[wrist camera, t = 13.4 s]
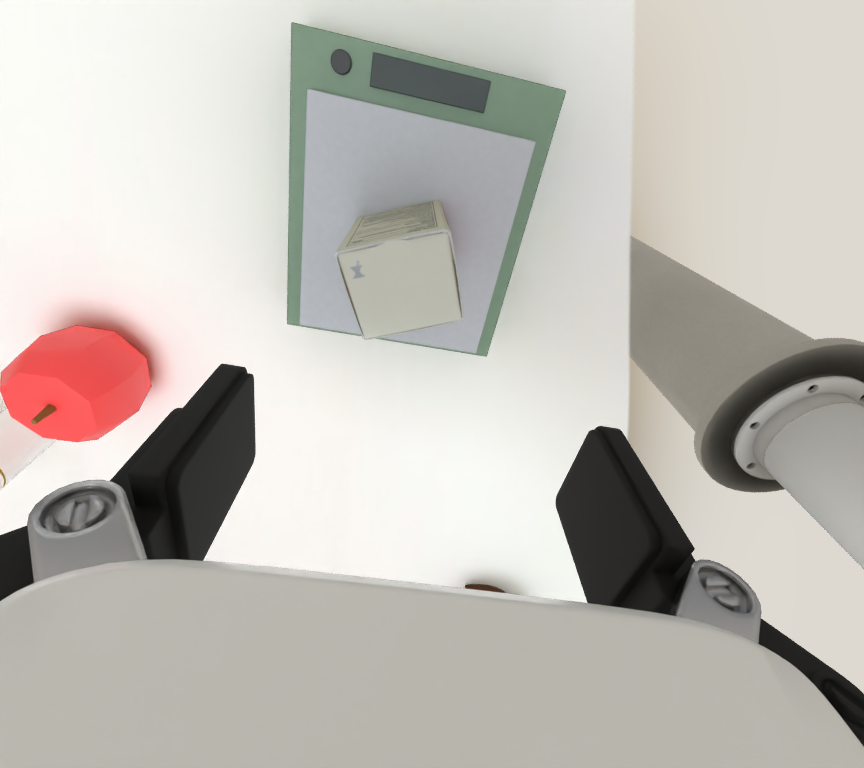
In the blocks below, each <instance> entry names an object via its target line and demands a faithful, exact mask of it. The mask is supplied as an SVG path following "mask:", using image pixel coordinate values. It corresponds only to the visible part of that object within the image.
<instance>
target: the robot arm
mask: <svg viewBox="0 0 864 768" xmlns="http://www.w3.org/2000/svg"><path fill="white" fill-rule="evenodd" d="M731 451H732V455H733V457H734V459H735V461H736V462H737V463H738V465H739V466H740V467H741V468H742V469H743V470H744V471H745V472H747V473H749V474H750V475H752V476H755V477H758V478H761V479H769V480H777V481H778V482H779V483H780V484H781V485H782V486H783V487H784V488H785V489H786V490H787V491H788V492H789V493H790V494H791V495H792V497H793V498H795V500H796V501H797V502H798V503H799V504H800V505H801V506H802V507H803V508H804V509H805V510H806V511H807V512H808V513H809V514H810V515H811V516H812V517H813V518H814V519H815V520H816V521H817V522H818V523H819V524H820V525H821V526H822V527H823V528H824V529H825V530H826V531H827V532H828V533H829V534H830V535H831V536H832V537H833V538H834V539H835V540H836V542H838V543H839V545H841V547H842V548H843V549H844V550H845V551H846V552H847V553H848V554H849V555H850V556H851V557H852V558H853V559H854V560H855V561H856V562H857V563H858V564H859V565H860V566H861V567H862V568H863V569H864V383H862V382H861V381H859V380H858V379H855V378H853V377H851V376H849V375H843V374H838V373H824V374H818V375H811V376H807V377H804V378H801V379H798V380H794V381H792V382H790V383H788V384H785V385H783V386H781V387H779V388H777V389H776V390H774V391H772V392H770V393H769V394H767V395H766V396H765V397H763V398H762V399H761V400H759V401H758V402H757V403H756V404H755V405H754V406H753V407H751V408H750V409H749V410H748V411H747V413H746V414H745V415H744V416H743V418H742V419H741V420H740V422H739V424H738V425H737V427H736V429H735V431H734V434H733V437H732V440H731ZM254 458H255V409H254V377H253V375H252V374H248V373H247V370H246V368H245V367H240V366H234V365H228V364H221V365H220V366H219V367H218V368H217V369H216V370H215V371H214V372H213V374H212V375H211V376H210V377H209V378H208V379H207V381H206V382H205V383H204V384H203V385H202V386H201V388H200V389H199V390H198V391H197V392H196V393H195V395H194V396H193V397H192V398H191V399H190V400H189V402H188V403H187V404H186V405H185V406H184V407H183V408H177V409H174V410H173V411H172V412H171V413H170V414H169V415H168V416H167V417H166V418H165V420H164V421H163V422H162V423H161V424H160V425H159V426H158V427H157V429H156V430H155V431H154V432H153V433H152V434H151V435H150V436H149V438H148V439H147V440H146V441H145V442H144V443H143V444H142V445H141V447H140V448H139V449H138V450H137V451H136V452H135V453H134V454H133V456H132V457H131V458H130V459H129V460H128V461H127V462H126V463H125V465H124V466H123V467H122V468H121V469H120V470H119V471H118V472H117V474H116V475H115V476H114V477H113V478H112V479H111V480H110V481H105V480H87V481H82V482H77V483H73V484H70V485H67V486H65V487H62V488H59V489H57V490H56V491H54V492H52V493H50V494H49V495H47V496H45V497H44V498H43V499H42V500H41V501H40V502H38V503H37V504H36V505H35V506H34V508H33V509H32V511H31V512H30V514H29V517H28V523H27V526H25V527H22V528H19V529H16V530H14V531H11V532H8V533H5V534H3V535H0V768H864V694H863V693H862V692H861V691H860V690H859V689H858V688H857V687H856V686H855V685H853V684H852V683H851V682H850V681H848V680H847V679H846V678H844V677H843V676H842V675H840V674H839V673H838V672H836V671H835V670H833V669H832V668H831V667H829V666H828V665H826V664H825V663H823V662H822V661H821V660H819V659H818V658H816V657H815V656H814V655H812V654H811V653H809V652H808V651H806V650H805V649H804V648H802V647H801V646H799V645H798V644H797V643H795V642H794V641H792V640H791V639H789V638H788V637H787V636H785V635H784V634H782V633H781V632H780V631H778V630H777V629H775V628H774V627H772V626H771V625H769V624H768V623H767V622H765V621H764V620H763V619H761V605H760V602H759V600H758V598H757V596H756V594H755V592H754V591H753V590H752V589H751V587H750V586H749V585H748V584H747V583H746V582H745V581H744V580H743V579H742V578H741V577H740V576H739V575H737V574H736V573H735V572H733V571H732V570H730V569H729V568H727V567H725V566H723V565H722V564H720V563H717V562H714V561H711V560H698V561H695V559H694V558H693V556H692V554H691V553H692V552H693V551H694V549H695V548H694V547H693V545H692V544H691V542H690V540H689V539H688V537H687V536H686V534H685V532H684V531H683V529H682V528H681V526H680V524H679V523H678V521H677V519H676V518H675V516H674V515H673V513H672V511H671V510H670V508H669V507H668V505H667V504H666V502H665V501H664V499H663V497H662V495H661V494H660V492H659V491H658V489H657V487H656V486H655V484H654V482H653V481H652V479H651V478H650V476H649V475H648V473H647V471H646V470H645V468H644V467H643V465H642V463H641V462H640V460H639V458H638V457H637V455H636V454H635V452H634V451H633V449H632V448H631V446H630V444H629V442H628V441H627V439H626V437H625V436H624V434H623V433H622V431H621V430H619V429H616V428H610V427H604V426H598V427H597V428H595V430H591V431H589V433H588V434H587V436H586V438H585V440H584V442H583V444H582V446H581V448H580V450H579V452H578V454H577V456H576V458H575V460H574V462H573V464H572V466H571V468H570V470H569V472H568V474H567V476H566V478H565V480H564V482H563V484H562V486H561V488H560V490H559V492H558V494H557V497H556V508H557V511H558V514H559V517H560V520H561V523H562V526H563V530H564V533H565V536H566V539H567V542H568V545H569V548H570V551H571V554H572V557H573V560H574V563H575V566H576V569H577V572H578V575H579V578H580V581H581V584H582V587H583V590H584V593H585V596H586V599H587V602H588V603H582V602H574V601H566V600H557V599H549V598H541V597H533V596H524V595H516V594H508V593H500V592H491V591H482V590H474V589H465V588H457V587H448V586H439V585H431V584H422V583H413V582H405V581H396V580H387V579H378V578H369V577H360V576H351V575H342V574H333V573H324V572H315V571H306V570H297V569H287V568H278V567H267V566H257V565H246V564H235V563H225V562H214V561H203V560H204V558H205V556H206V554H207V552H208V550H209V548H210V546H211V544H212V542H213V540H214V538H215V536H216V534H217V532H218V530H219V529H220V527H221V525H222V523H223V521H224V519H225V517H226V515H227V513H228V511H229V509H230V507H231V505H232V503H233V501H234V499H235V497H236V496H237V494H238V492H239V490H240V488H241V486H242V484H243V482H244V480H245V478H246V476H247V474H248V472H249V470H250V468H251V466H252V464H253V462H254Z"/></svg>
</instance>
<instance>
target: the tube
mask: <svg viewBox="0 0 864 768" xmlns="http://www.w3.org/2000/svg"><path fill="white" fill-rule="evenodd" d="M56 440H57V439H49V438H42V437H41V436H39V435H38V434H36V433H35V432H33V431H32V430H30V429H29V428H27V427H26V426H24V425H23V424H21V423H19V422H18V421H16V420H15V419H13V418H12V417H11V416H10V414H9V411H8V409H7V408H6V409H5V410H3V411H2V412H0V490H1V489H2V488H3V487H4V486H5V485H7V484H8V483H9V482H10V481H11V480H12V479H13V478H14V477H16V476H17V475H18V474H19V473H20V472H21V471H22V470H23V469H25V468H26V467H27V466H28V465H29V464H30V463H31V462H32V461H34V460H35V459H36V458H37V457H38V456H39V455H40V454H41V453H43V452H44V451H45V450H46V449H47V448H48V447H49V446H50V445H52V444H53V443H54V442H55V441H56Z"/></svg>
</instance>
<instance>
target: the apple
mask: <svg viewBox="0 0 864 768" xmlns="http://www.w3.org/2000/svg"><path fill="white" fill-rule="evenodd" d="M150 388H151V381H150V375H149V370H148V364H147V358H146V357H145V356H144V355H143V354H142V353H140V352H139V351H138V350H137V349H136V348H134V347H133V346H132V345H131V344H130V343H128V342H127V341H126V340H125V339H124V338H123V337H121V336H120V335H119V334H118V333H117V332H115V331H109V330H103V329H96V328H90V327H84V326H77V325H76V326H72V327H69V328H66V329H62V330H59V331H56V332H52V333H49V334H45V335H42V336H40V337H39V338H38V339H37V340H35V341H34V342H33V343H32V344H31V345H30V346H29V347H28V348H26V349H25V350H24V351H23V352H22V353H21V354H20V355H19V356H17V357H16V358H15V359H14V360H13V361H12V362H11V363H10V364H9V365H8V366H7V367H6V368H5V369H4V370H3V371H2V372H1V379H0V392H1V394H2V397H3V399H4V401H5V404H6V406H7V409H8V411H9V414H10V416H11V417H12V418H13V419H15V420H16V421H18V422H19V423H21V424H23V425H24V426H26V427H27V428H29V429H30V430H32V431H33V432H35V433H36V434H38V435H39V436H41V437H42V438H49V439H57V440H64V441H72V442H82V441H90V440H97V439H99V438H100V437H102V436H103V435H105V434H107V433H108V432H110V431H111V430H113V429H114V428H115V427H117V426H118V425H120V424H121V423H122V422H124V421H125V420H127V419H128V418H129V417H131V416H132V415H134V414H135V413H136V412H138V411H139V409H140V407H141V405H142V403H143V401H144V399H145V398H146V396H147V394H148V392H149V390H150Z"/></svg>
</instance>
